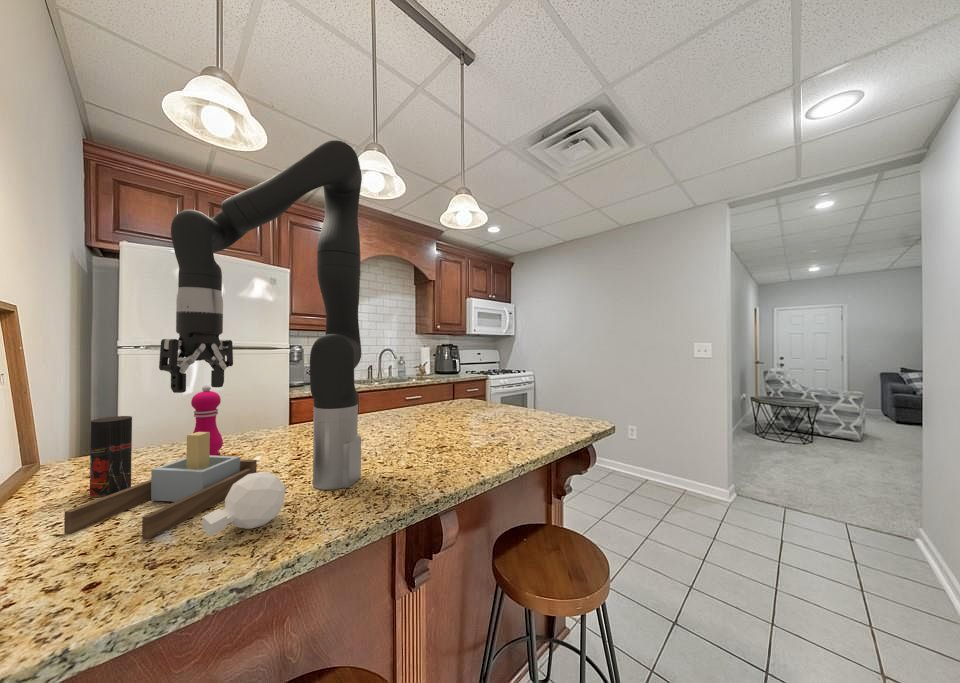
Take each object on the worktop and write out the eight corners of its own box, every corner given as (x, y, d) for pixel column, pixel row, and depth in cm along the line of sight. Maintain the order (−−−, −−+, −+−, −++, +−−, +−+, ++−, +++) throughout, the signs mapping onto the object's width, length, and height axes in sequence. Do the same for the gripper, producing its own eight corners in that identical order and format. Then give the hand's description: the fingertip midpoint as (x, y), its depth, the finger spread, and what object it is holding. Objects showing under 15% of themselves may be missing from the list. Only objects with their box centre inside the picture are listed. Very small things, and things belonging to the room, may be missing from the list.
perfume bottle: (264, 495, 66) (190, 534, 55) (268, 454, 64) (191, 486, 53) (294, 519, 63) (221, 564, 52) (299, 476, 60) (224, 514, 50)
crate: (239, 484, 75) (240, 429, 75) (202, 503, 66) (203, 440, 66) (193, 481, 76) (194, 427, 76) (151, 500, 67) (151, 438, 67)
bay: (256, 482, 77) (256, 459, 77) (148, 539, 54) (149, 507, 54) (193, 479, 78) (194, 457, 78) (64, 533, 56) (64, 502, 56)
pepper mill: (229, 458, 93) (230, 383, 93) (205, 467, 86) (206, 387, 86) (205, 457, 93) (206, 383, 94) (179, 466, 86) (180, 386, 86)
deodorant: (137, 487, 74) (138, 417, 74) (99, 498, 68) (100, 423, 68) (121, 483, 76) (122, 415, 76) (82, 494, 70) (83, 420, 70)
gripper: (183, 307, 64) (182, 395, 64) (244, 314, 78) (243, 386, 78) (147, 308, 65) (146, 394, 65) (213, 314, 79) (213, 385, 79)
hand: (199, 389), depth 71 cm, fingers open, 8 cm apart
